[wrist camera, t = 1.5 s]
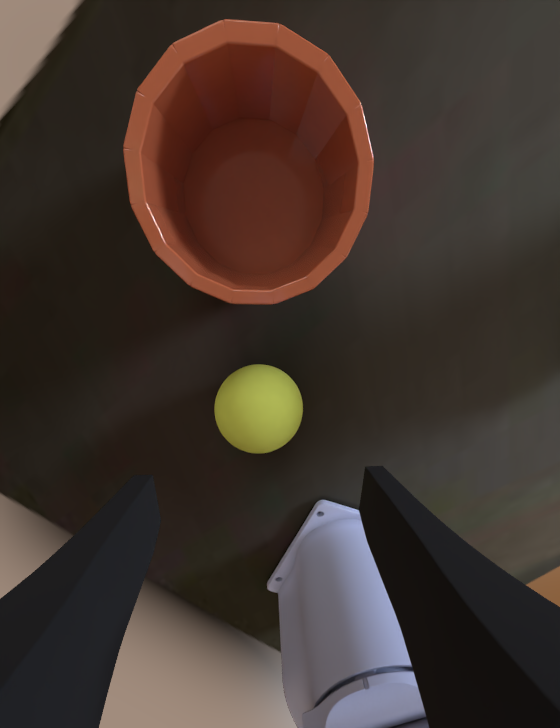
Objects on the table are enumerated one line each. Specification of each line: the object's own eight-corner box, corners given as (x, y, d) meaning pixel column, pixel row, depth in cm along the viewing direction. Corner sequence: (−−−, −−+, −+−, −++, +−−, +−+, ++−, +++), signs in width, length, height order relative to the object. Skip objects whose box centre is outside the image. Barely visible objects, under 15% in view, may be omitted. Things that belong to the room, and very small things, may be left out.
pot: (292, 304, 17) (307, 337, 11) (156, 245, 16) (98, 248, 10) (358, 159, 15) (419, 110, 9) (206, 72, 13) (168, -49, 8)
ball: (278, 431, 20) (283, 484, 16) (208, 407, 19) (194, 456, 15) (310, 369, 18) (325, 408, 14) (236, 340, 18) (229, 372, 13)
